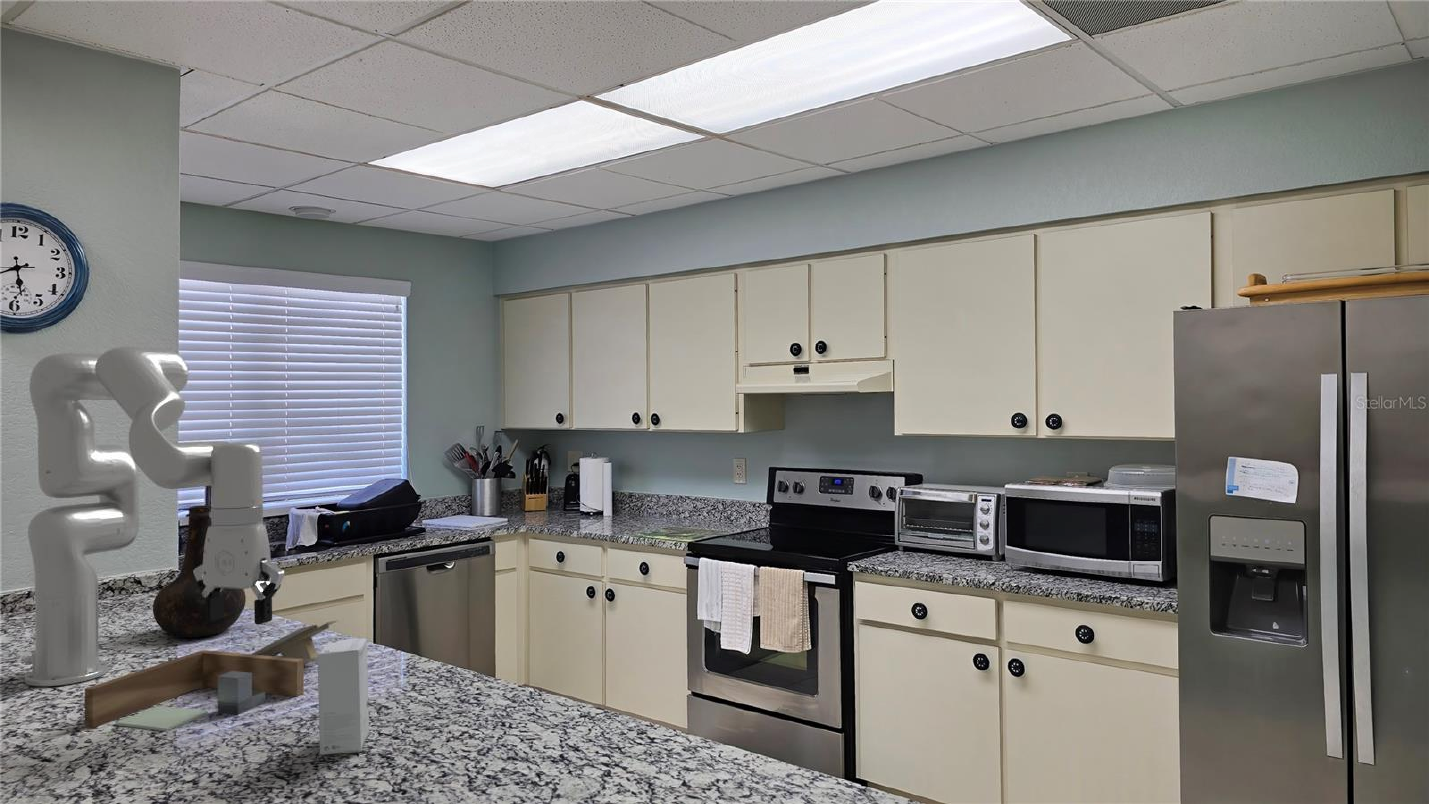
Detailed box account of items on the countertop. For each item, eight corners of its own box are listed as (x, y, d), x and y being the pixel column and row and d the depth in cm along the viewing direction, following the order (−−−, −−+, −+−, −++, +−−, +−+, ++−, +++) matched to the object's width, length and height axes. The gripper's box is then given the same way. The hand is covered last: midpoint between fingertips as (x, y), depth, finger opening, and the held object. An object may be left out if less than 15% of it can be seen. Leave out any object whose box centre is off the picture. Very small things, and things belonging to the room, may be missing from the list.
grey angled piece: (251, 704, 164) (316, 648, 165) (223, 667, 166) (287, 611, 167) (296, 690, 181) (355, 639, 182) (271, 656, 182) (329, 605, 183)
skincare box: (361, 753, 131) (361, 650, 131) (316, 756, 130) (316, 653, 130) (369, 732, 140) (369, 636, 140) (327, 735, 138) (327, 638, 138)
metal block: (217, 712, 148) (217, 676, 148) (245, 701, 154) (246, 665, 154) (237, 715, 147) (237, 678, 147) (265, 703, 153) (265, 667, 153)
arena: (84, 726, 142) (84, 688, 142) (203, 683, 164) (203, 650, 164) (196, 741, 136) (196, 701, 136) (303, 693, 158) (303, 659, 158)
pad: (115, 724, 143) (115, 722, 143) (159, 708, 150) (159, 705, 150) (166, 731, 140) (166, 728, 140) (207, 713, 148) (207, 711, 148)
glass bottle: (180, 648, 187) (179, 512, 186) (135, 636, 196) (135, 507, 196) (262, 630, 202) (262, 504, 202) (217, 619, 211) (217, 499, 211)
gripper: (176, 519, 148) (178, 624, 148) (263, 521, 144) (265, 629, 144) (213, 514, 156) (214, 613, 156) (297, 515, 151) (299, 618, 151)
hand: (239, 621), depth 150 cm, fingers open, 9 cm apart
